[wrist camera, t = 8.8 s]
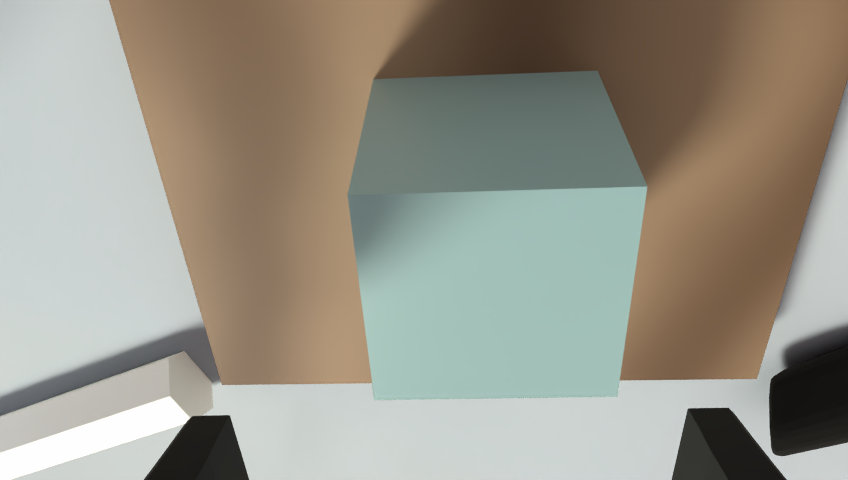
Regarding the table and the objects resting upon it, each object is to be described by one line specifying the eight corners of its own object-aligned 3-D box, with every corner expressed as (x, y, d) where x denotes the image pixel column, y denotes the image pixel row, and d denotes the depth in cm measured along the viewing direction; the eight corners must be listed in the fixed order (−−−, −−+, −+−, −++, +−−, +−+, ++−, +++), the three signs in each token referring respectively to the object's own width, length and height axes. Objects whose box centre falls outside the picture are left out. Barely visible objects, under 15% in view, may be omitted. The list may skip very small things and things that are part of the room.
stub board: (234, 350, 23) (198, 451, 20) (103, -132, 15) (10, -95, 12) (740, 343, 23) (789, 447, 19) (880, -170, 15) (1005, -142, 11)
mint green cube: (390, 257, 19) (374, 399, 15) (373, 79, 16) (347, 195, 12) (581, 253, 19) (616, 396, 15) (597, 70, 16) (647, 186, 12)
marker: (-127, 458, 29) (200, 342, 25) (-107, 507, 29) (223, 401, 25) (-198, 488, 26) (153, 365, 22) (-176, 541, 27) (178, 430, 22)
